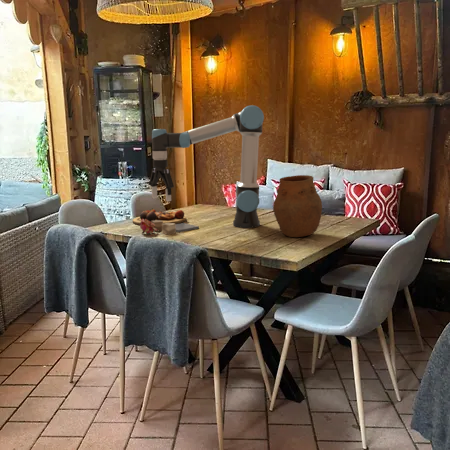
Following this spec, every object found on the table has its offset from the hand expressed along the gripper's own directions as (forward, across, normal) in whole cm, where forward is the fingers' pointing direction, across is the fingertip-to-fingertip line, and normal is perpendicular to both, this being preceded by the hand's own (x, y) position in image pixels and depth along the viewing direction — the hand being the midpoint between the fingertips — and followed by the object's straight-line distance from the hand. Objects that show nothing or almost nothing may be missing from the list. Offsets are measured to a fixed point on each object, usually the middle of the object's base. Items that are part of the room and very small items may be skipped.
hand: (161, 199), depth 230 cm
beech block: (+17, -7, 0) cm, 18 cm away
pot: (+17, -56, -44) cm, 73 cm away
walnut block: (+17, +4, +1) cm, 18 cm away
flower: (+17, -1, +9) cm, 19 cm away
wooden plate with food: (+18, +25, -14) cm, 34 cm away
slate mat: (+17, -2, -11) cm, 20 cm away
